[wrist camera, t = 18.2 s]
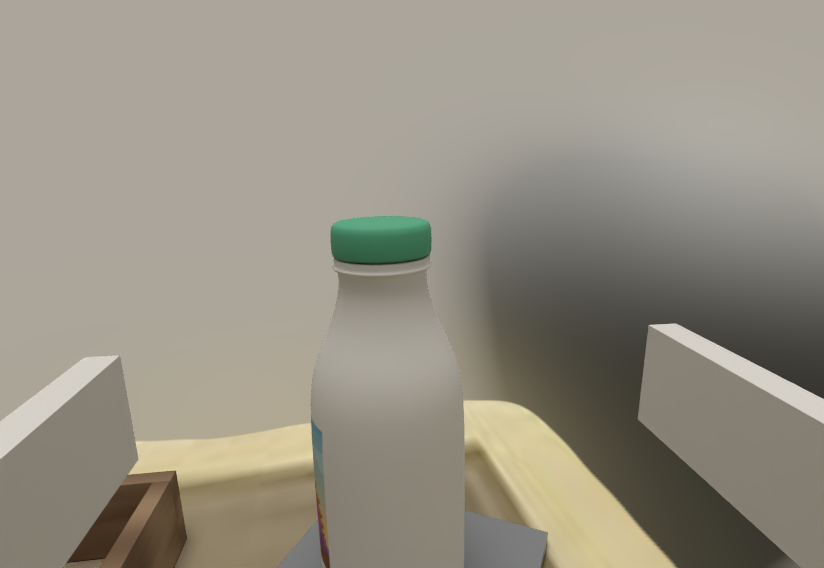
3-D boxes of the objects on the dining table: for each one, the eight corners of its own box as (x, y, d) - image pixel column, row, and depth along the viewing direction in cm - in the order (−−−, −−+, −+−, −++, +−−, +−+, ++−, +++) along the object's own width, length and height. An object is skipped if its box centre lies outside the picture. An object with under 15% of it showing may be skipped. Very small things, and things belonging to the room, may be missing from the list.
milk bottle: (487, 561, 28) (493, 214, 23) (415, 677, 22) (403, 237, 17) (379, 513, 32) (366, 209, 27) (293, 599, 26) (256, 225, 21)
